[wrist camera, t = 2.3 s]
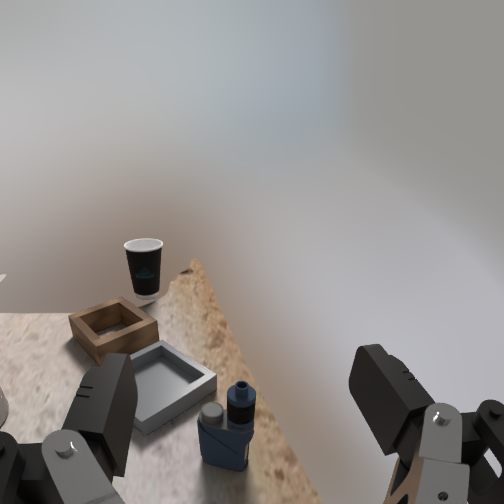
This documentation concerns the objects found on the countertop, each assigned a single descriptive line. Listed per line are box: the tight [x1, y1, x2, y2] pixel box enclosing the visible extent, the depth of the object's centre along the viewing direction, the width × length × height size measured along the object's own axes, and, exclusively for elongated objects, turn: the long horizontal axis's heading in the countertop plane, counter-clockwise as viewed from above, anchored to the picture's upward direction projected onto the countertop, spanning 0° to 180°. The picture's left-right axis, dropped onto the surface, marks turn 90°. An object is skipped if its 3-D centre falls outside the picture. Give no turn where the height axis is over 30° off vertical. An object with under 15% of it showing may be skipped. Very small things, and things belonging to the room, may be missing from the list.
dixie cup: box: [124, 239, 163, 300], centre depth 60 cm, size 8×8×11 cm
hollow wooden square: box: [68, 297, 159, 366], centre depth 45 cm, size 11×11×4 cm
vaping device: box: [197, 381, 256, 471], centre depth 25 cm, size 3×5×12 cm, turn 77°
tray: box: [130, 340, 217, 436], centre depth 36 cm, size 12×11×3 cm
